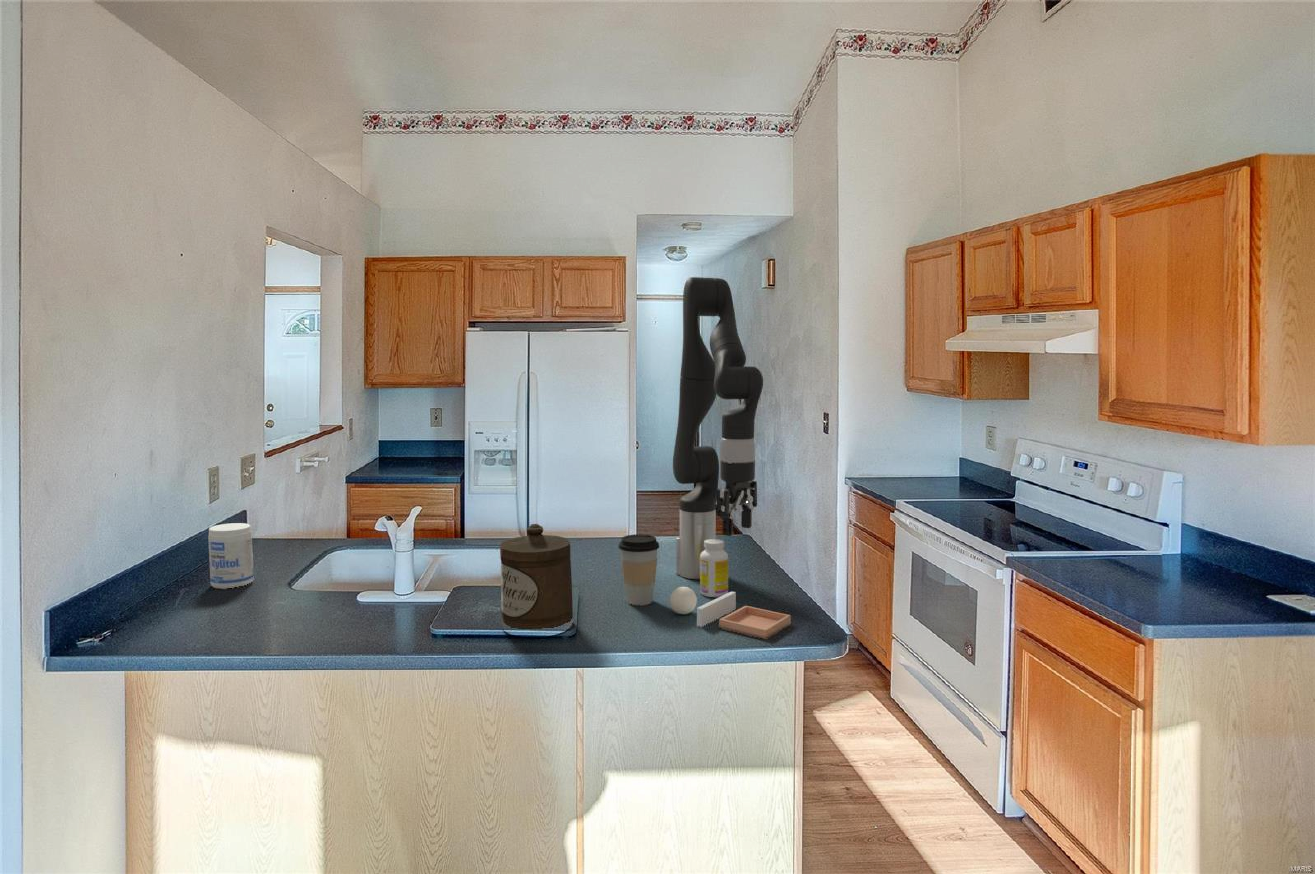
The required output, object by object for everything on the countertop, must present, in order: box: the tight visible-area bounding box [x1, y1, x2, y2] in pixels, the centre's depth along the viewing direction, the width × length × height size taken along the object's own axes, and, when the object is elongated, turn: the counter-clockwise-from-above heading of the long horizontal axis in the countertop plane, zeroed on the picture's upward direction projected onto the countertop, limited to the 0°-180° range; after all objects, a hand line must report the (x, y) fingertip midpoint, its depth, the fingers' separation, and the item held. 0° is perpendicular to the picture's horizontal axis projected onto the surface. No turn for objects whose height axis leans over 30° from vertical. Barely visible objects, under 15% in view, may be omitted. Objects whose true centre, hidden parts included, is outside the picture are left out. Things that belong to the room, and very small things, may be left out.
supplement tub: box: [207, 522, 254, 590], centre depth 202 cm, size 10×10×15 cm
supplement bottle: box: [699, 538, 729, 598], centre depth 193 cm, size 7×7×13 cm
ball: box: [669, 586, 698, 615], centre depth 179 cm, size 6×6×6 cm
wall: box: [696, 591, 737, 628], centre depth 177 cm, size 1×14×4 cm, turn 144°
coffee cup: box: [617, 533, 660, 606], centre depth 187 cm, size 9×9×15 cm
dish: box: [718, 605, 792, 640], centre depth 171 cm, size 11×11×2 cm
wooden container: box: [499, 523, 574, 629], centre depth 171 cm, size 15×15×22 cm
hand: (737, 531), depth 179 cm, fingers open, 8 cm apart
